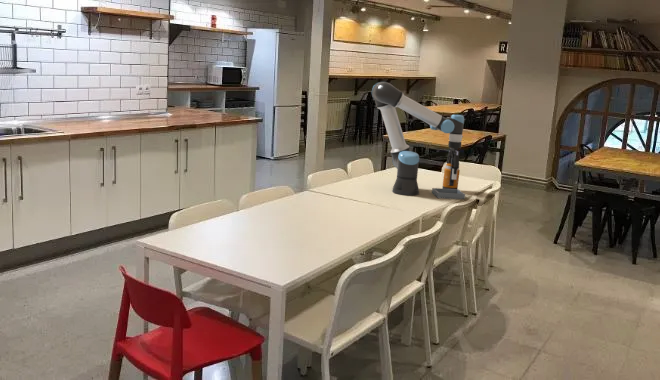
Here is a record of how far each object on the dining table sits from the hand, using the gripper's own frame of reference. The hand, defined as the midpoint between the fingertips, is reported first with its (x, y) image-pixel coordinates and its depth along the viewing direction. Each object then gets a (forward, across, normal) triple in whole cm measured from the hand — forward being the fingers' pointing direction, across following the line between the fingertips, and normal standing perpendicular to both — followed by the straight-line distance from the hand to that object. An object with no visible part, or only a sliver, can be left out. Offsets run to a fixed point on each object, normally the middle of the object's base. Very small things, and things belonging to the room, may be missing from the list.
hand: (451, 177), depth 371 cm
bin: (+8, -17, +6) cm, 20 cm away
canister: (+8, 0, 0) cm, 8 cm away
